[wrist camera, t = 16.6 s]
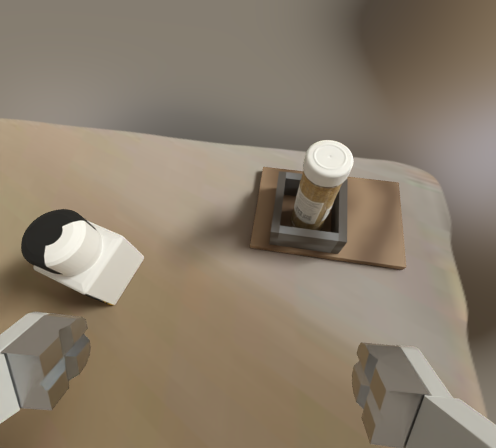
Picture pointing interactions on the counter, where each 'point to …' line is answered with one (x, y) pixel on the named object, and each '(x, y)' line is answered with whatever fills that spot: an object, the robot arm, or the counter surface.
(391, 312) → the counter surface
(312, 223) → the sprinkles bottle
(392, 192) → the socket block
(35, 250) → the medicine bottle
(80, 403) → the counter surface
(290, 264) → the counter surface
